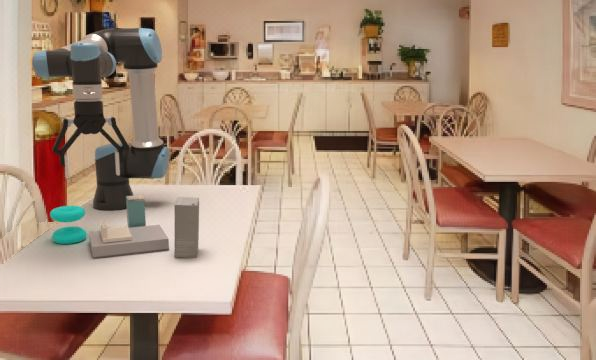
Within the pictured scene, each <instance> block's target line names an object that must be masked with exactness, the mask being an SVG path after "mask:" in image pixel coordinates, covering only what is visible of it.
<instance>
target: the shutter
mask: <svg viewBox="0 0 596 360" xmlns="http://www.w3.org/2000/svg"><path fill="white" fill-rule="evenodd" d="M99 231H100V234H101V237H102V241H103V243H107V242H117V241H126V240H132V235H131V233H130V231H129V229H128V225H122V226H111V227H107V223H106V220H101V221H100V228H99Z"/></svg>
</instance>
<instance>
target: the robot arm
mask: <svg viewBox="0 0 596 360" xmlns="http://www.w3.org/2000/svg"><path fill="white" fill-rule="evenodd" d="M162 59H163V49H162V43H161V41H160V37H159V36H158V33H157V32H156V31H155V30H154V29H152V28H145V27H144V28H143V27H130V28H128V27H127V28H126V27H125V28H116V27H115V28H114V27H113V28H112V27H111V28H105V29H101V30H98V31H94V32H91V33H89V34H87V35H84V36H83V37H82V38H81V39H80V40H79V41H75V42H73V43H70V44H68V45H66V46H62V47H58V48H56V49H53V50H47V49H44V50H37V51H35V52H34V53H33V56H32V59H31V60H32V63H31V64H32V69H33V71H34V73H35V74H36V75H37V76H38V77H40V78H48V79H49V78H72V93H73V94H72V95H73V99H74V100H75V101H74V102H73V107H74V118H73V119H71V118H66V117H64V118H63V119H62V127H61V129H60V131H59V133H58V135H57V138H56V139H55V143H54V145H53V147H52V149H51V150H52V153H53V154H56V155H58V156H59V164H60V167H61V168H62V167H64V175H65V179H66V180H69V179H70V177H69V176H70V175H69V174H70V173H69V162H68V161H69V160H68V154H67V153H66V152H67V151H68V150H69V149H70V148H71V146H72V145H73V144H74V142H75V141H76V140H77V139H78V137H80V136H81V134H83V135H85V136H86V135H98V134H99V133H100V134H101V135H102V136H103V137H104V138H105V139H106V140H107V141H108V142H109V143H108V144H104V145H103V144H102V145H100V146H98V147H96V148H95V150H94V164H95V165H94V166H95V176H96V177H95V178H96V189H95V193H94V195H93V199H92V206H93V208H94V209H96V210H99V211H100V210H101V211H115V210H116V211H117V210H123V209H127V206H126V196H135V194H134V192H133V190H132V187H131V185H130V179H151V180H154V179H162V178H164V177H165V176H166V175H167V172H168V168H169V166H170V165H169V163H170V150H169V149H170V148H169V147H167V146H164V140H162V139H161V138H160V137H159V136H160V135H159V126H158V114H157V113H158V111H157V100H156V87H155V75H154V72H155V71H156V70H157V69H158V66H159V65H158V64H160V63H161V62H162ZM117 63H119V64H121V63H122V64H123V65H122V66H123V70H125V72H127V73H128V81H129V91H130V92H129V93H130V104H131V116H132V125H133V135H134V138H133V140H132V141H131V142H130V146H129V143H128V142H127V141H126V139H125V137H124V135H123V134H122V132H121V130H120V128H119V126H118V125H117V120H116V118H115V117H114V116H111V117H106V118H105V115H104V102H103V101H102V100H101V99H103V87H102V86H103V85H102V78H107V77H109V76H111V75H112V74H114V72H115V70H116V69H117ZM106 123H107V124H108V125H109V126H111V128H112V129H113V131H114V133H115V134H116V136H117V138H118V140H119V142H116V140H115V139H114V138H112V136H111V135H110V134H109V133H108V132H107V131H106V130H105V129H104V128H103V127H104V126H105V124H106ZM73 124H74V126H75V127H76V130H75V131H74V132H73V133H72V135H70V137H69V138H68V140H67V141H66V143H64V145H62V142H63V139H64V137H65V135H66V133H67V131H68V129H69V128H70V127H71V126H72V125H73ZM61 145H62V147H61V148H60V146H61Z"/></svg>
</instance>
